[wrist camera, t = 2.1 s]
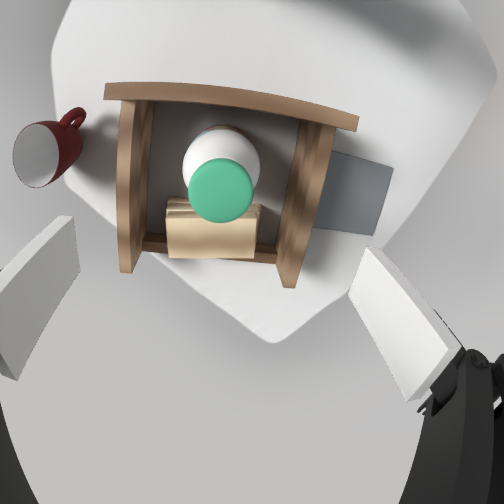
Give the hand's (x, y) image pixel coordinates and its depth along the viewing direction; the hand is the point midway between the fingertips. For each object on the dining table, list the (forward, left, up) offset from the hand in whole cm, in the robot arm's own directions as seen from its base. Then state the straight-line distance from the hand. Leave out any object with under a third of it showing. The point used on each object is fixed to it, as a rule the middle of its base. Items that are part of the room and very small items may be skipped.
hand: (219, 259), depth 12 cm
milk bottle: (0, 0, -29) cm, 29 cm away
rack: (+3, -2, -28) cm, 29 cm away
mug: (-14, -17, -29) cm, 36 cm away
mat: (+14, +15, -28) cm, 35 cm away
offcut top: (+8, -6, -24) cm, 26 cm away
